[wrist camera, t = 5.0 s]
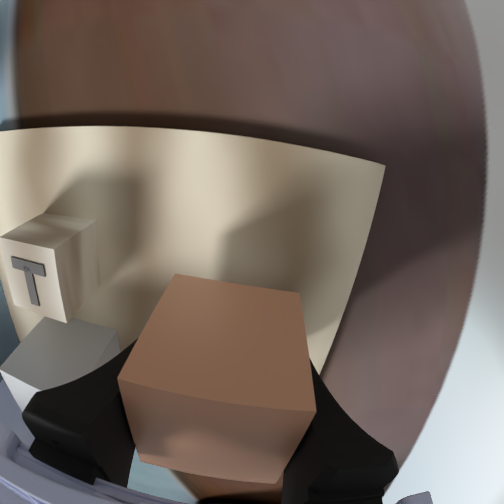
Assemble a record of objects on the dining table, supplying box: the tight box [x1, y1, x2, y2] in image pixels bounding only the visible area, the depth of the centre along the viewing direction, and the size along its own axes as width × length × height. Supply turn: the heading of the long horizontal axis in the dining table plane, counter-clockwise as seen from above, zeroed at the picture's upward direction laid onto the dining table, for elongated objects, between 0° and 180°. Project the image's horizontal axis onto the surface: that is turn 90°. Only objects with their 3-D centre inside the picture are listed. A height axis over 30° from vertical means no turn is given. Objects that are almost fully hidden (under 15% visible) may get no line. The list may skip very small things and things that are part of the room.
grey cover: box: [0, 316, 120, 412], centre depth 16 cm, size 6×6×6 cm
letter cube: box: [0, 213, 101, 323], centre depth 14 cm, size 4×4×4 cm
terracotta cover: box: [117, 273, 316, 484], centre depth 11 cm, size 6×6×6 cm
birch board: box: [0, 126, 386, 374], centre depth 17 cm, size 24×20×1 cm
